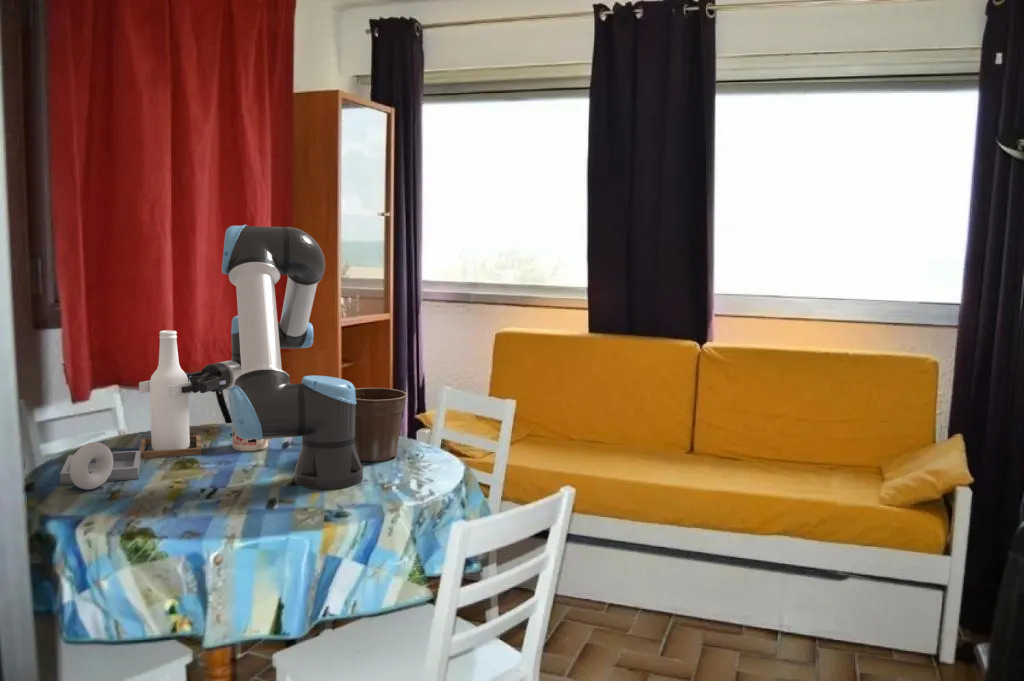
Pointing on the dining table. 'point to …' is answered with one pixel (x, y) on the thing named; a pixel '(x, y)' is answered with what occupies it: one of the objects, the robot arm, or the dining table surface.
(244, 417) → the robot arm
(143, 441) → the square wooden frame
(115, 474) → the tray
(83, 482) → the donut
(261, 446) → the teacup with lid
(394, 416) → the plant pot
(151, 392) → the alcohol
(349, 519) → the dining table surface
